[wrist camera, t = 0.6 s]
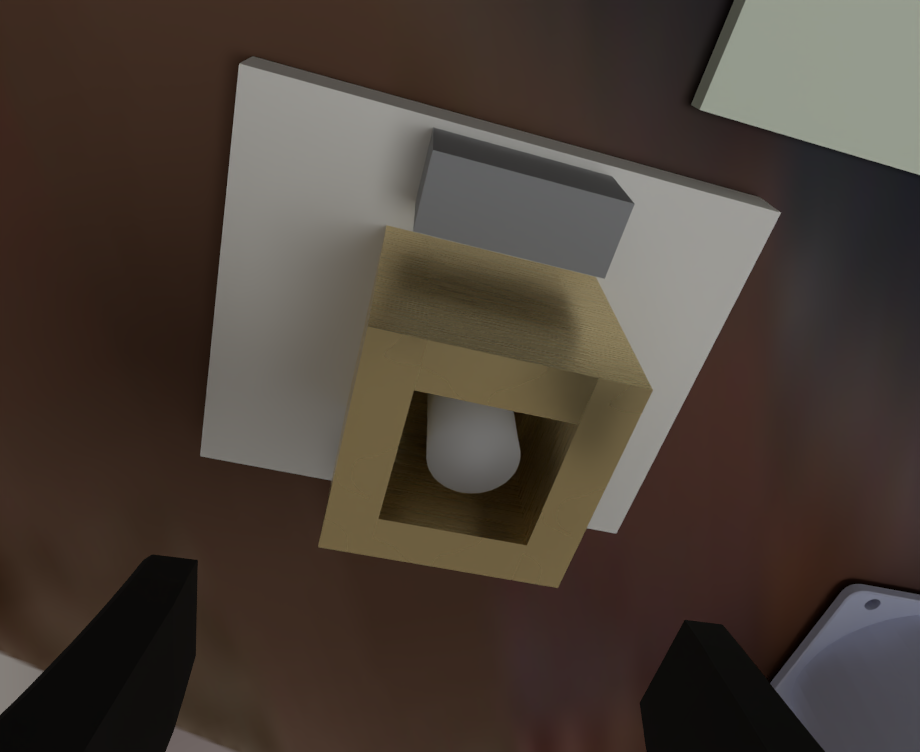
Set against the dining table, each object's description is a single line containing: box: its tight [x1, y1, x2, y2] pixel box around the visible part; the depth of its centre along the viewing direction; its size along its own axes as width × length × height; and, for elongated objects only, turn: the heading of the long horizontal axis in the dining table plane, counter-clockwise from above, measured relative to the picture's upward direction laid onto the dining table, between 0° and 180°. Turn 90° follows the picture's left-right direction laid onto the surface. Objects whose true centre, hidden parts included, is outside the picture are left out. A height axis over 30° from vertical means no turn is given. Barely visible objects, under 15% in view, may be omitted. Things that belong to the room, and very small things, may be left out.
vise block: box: [200, 56, 781, 533], centre depth 16 cm, size 12×10×6 cm
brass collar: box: [318, 225, 653, 588], centre depth 15 cm, size 5×5×5 cm
